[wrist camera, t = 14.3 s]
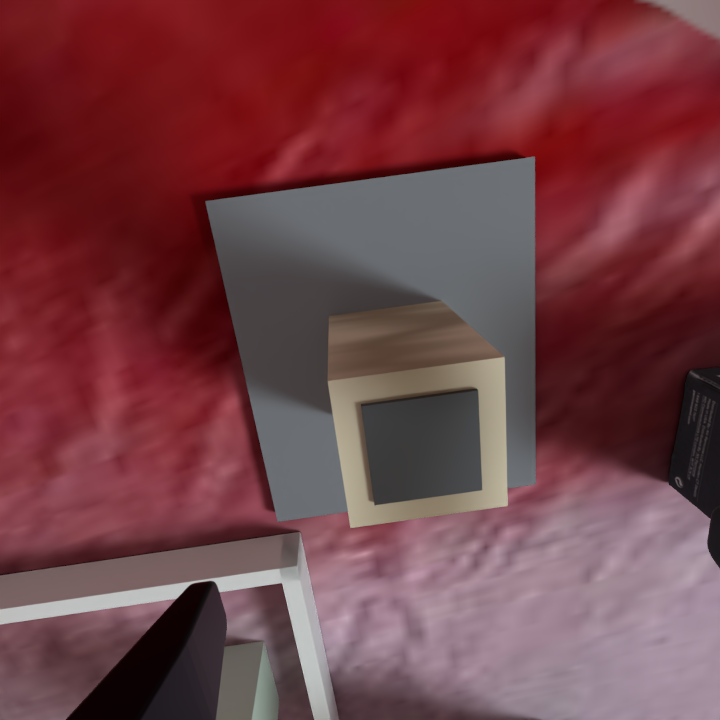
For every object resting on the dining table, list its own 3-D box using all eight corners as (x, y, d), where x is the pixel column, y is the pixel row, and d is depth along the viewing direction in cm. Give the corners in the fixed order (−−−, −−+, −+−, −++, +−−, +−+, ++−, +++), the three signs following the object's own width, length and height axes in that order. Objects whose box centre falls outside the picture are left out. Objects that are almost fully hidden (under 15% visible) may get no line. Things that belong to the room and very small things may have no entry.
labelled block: (441, 301, 18) (506, 359, 11) (448, 407, 20) (509, 513, 13) (329, 316, 18) (327, 383, 11) (344, 421, 20) (351, 535, 13)
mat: (530, 477, 22) (535, 484, 21) (278, 513, 22) (277, 521, 21) (528, 158, 17) (534, 156, 17) (209, 201, 17) (205, 201, 17)
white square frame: (349, 768, 28) (351, 814, 26) (25, 818, 28) (0, 868, 26) (300, 531, 22) (297, 565, 20) (-111, 591, 22) (-158, 632, 20)
